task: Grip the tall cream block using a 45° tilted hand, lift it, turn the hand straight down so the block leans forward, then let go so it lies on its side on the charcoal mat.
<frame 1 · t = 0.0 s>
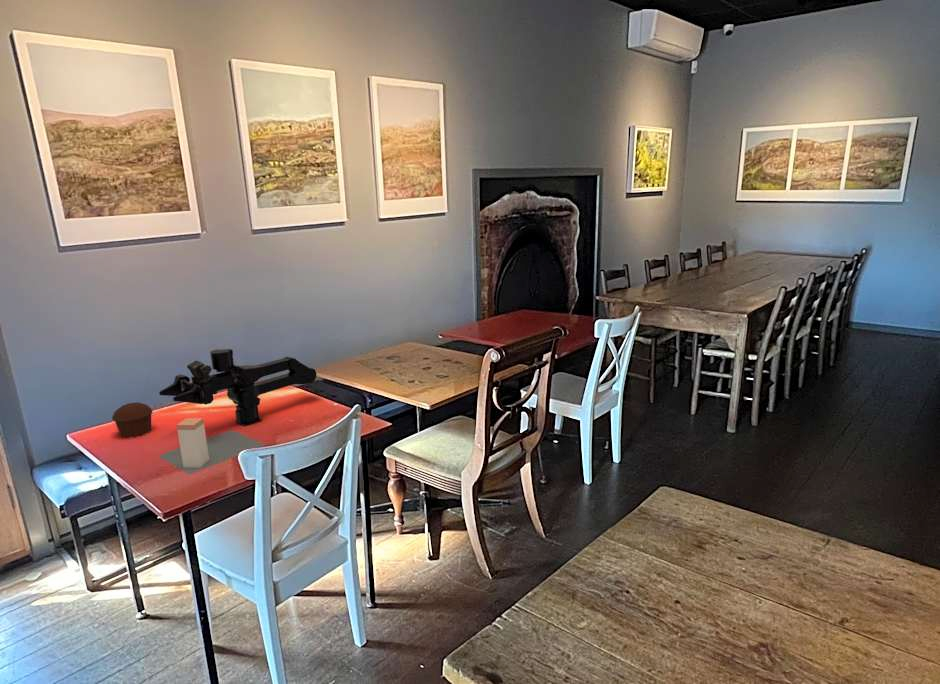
hand: (166, 396, 177), 17 cm above the table, tool horizontal, fingers open, 9 cm apart
charcoal mat: (212, 451, 177), on the table
cream block: (196, 463, 168), resting on charcoal mat
muffin: (135, 433, 193), on the table
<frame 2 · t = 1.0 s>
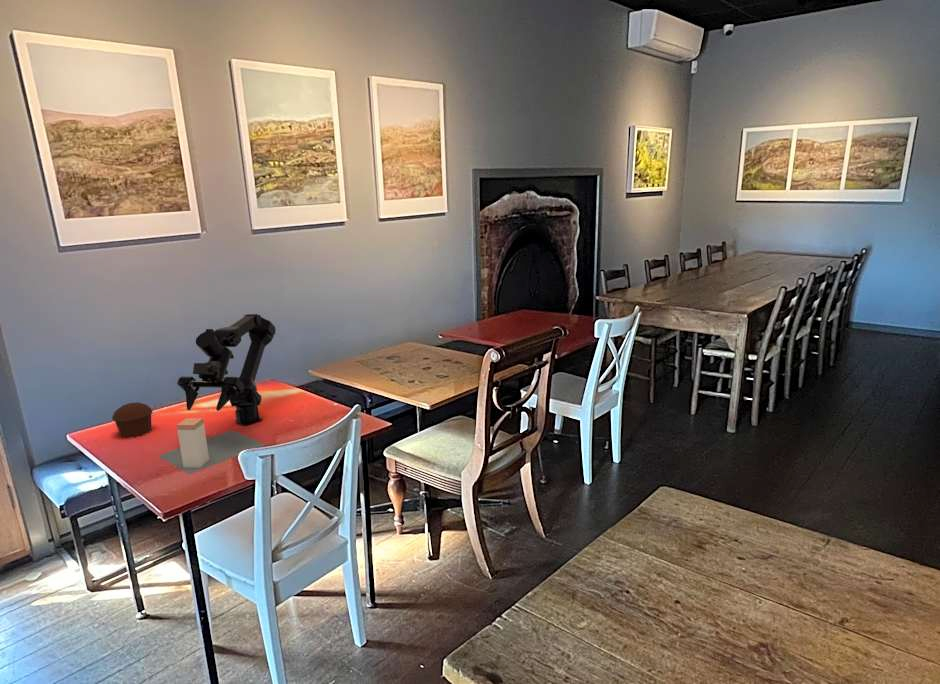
hand: (202, 410, 172), 14 cm above the table, tool tilted 45°, fingers open, 9 cm apart
nothing on the table moved.
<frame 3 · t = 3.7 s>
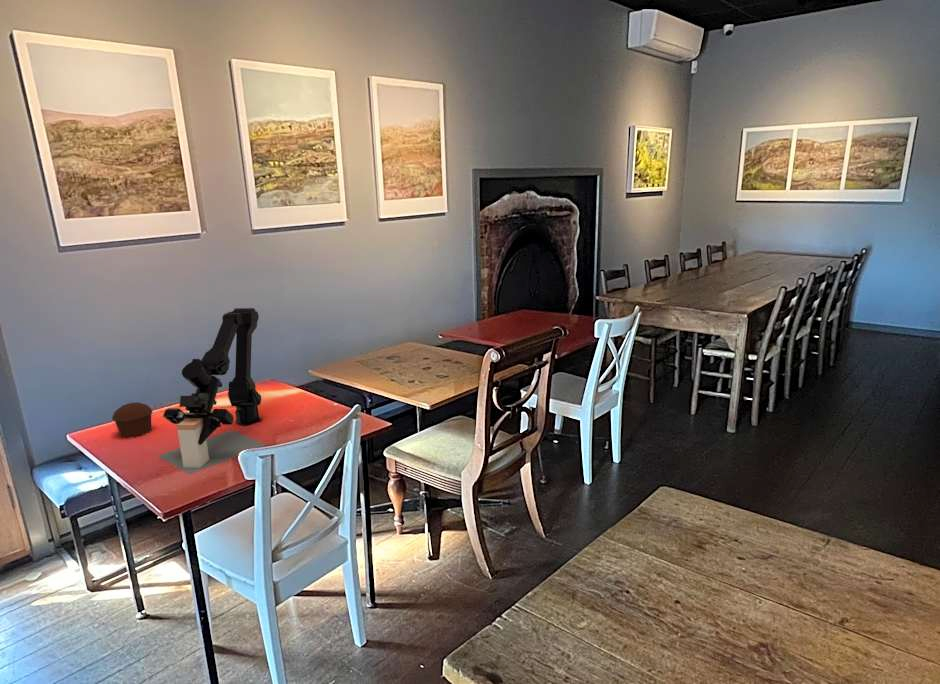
hand: (190, 444, 165), 7 cm above the table, tool tilted 45°, fingers closed on cream block, 5 cm apart
cream block: (196, 463, 168), resting on charcoal mat, touching gripper
everything else where it was.
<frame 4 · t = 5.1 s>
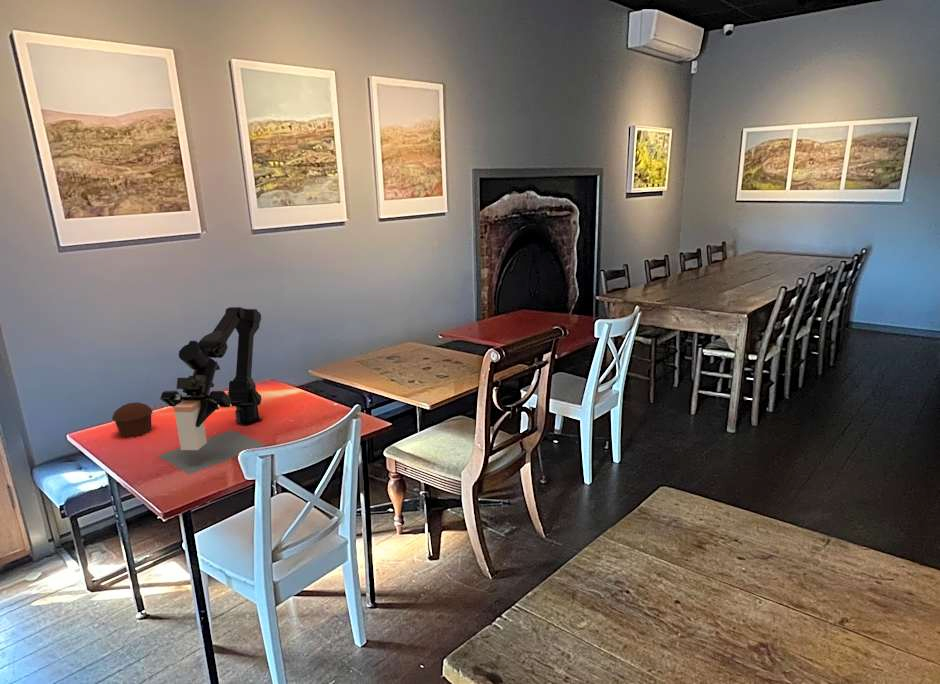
hand: (187, 426, 164), 12 cm above the table, tool tilted 45°, fingers closed on cream block, 5 cm apart
cream block: (194, 446, 167), point 6 cm above the table, touching gripper
everything else where it was.
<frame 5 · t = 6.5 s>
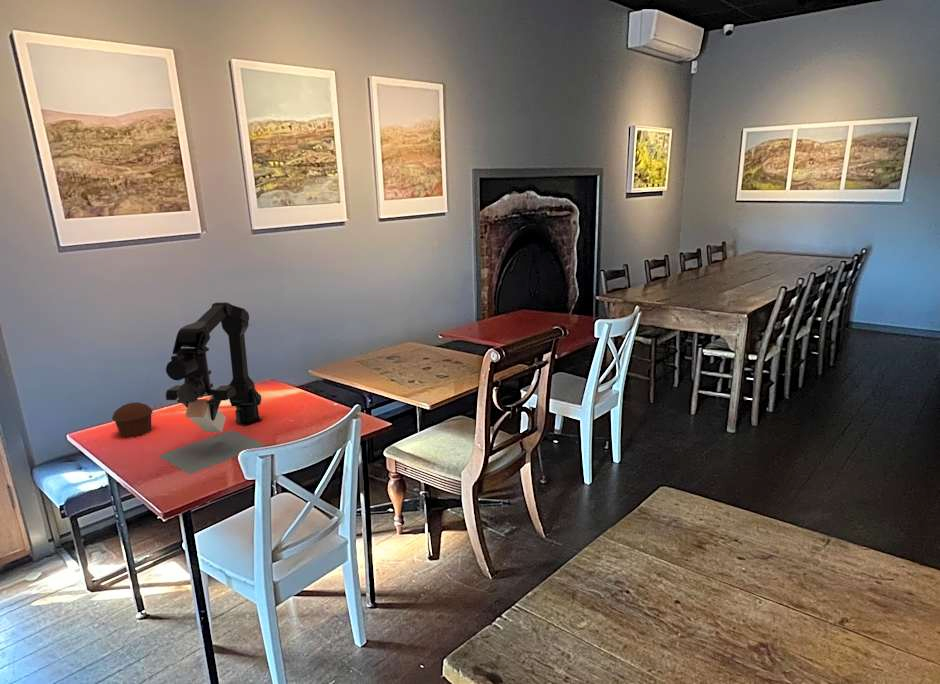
hand: (204, 420, 172), 11 cm above the table, tool pointing down, fingers closed on cream block, 5 cm apart
cream block: (216, 424, 179), point 7 cm above the table, tilted 45°, touching gripper
everything else where it was.
when the fingers open (7 cm above the table, at t = 8.0 s): cream block moves 2 cm and tips over, resting on charcoal mat.
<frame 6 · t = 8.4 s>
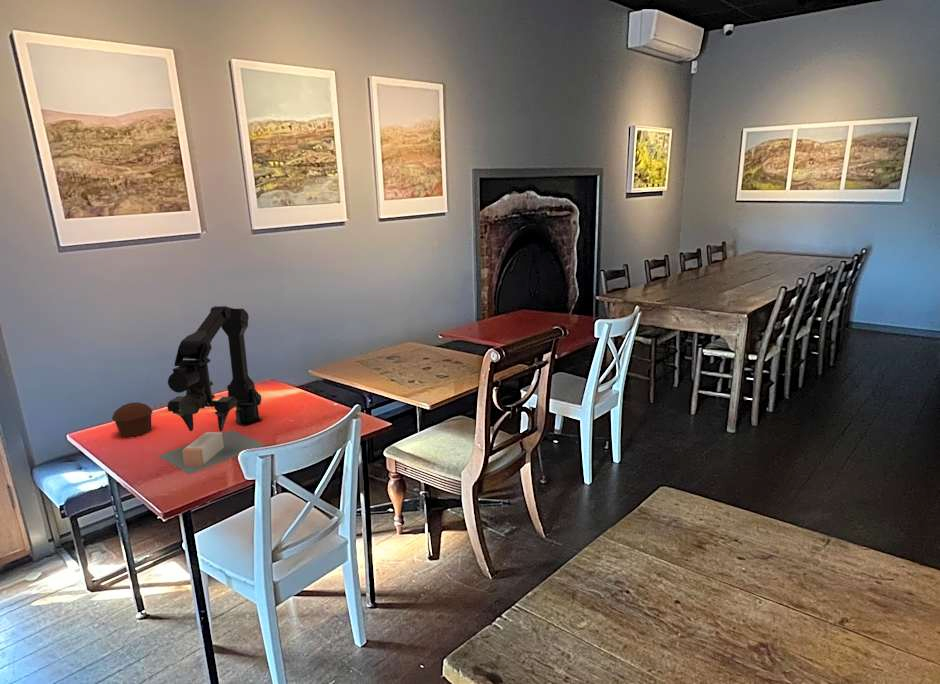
hand: (206, 430, 173), 7 cm above the table, tool pointing down, fingers open, 9 cm apart
cream block: (215, 439, 178), point 3 cm above the table, tilted 90°, touching charcoal mat
everything else where it was.
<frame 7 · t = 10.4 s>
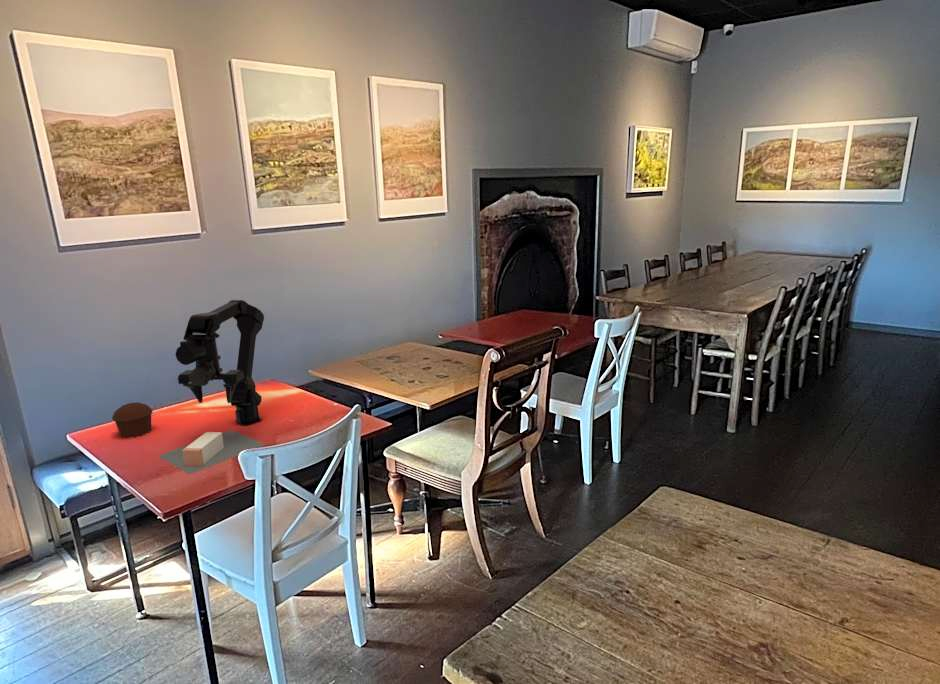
hand: (215, 402, 182), 13 cm above the table, tool pointing down, fingers open, 9 cm apart
nothing on the table moved.
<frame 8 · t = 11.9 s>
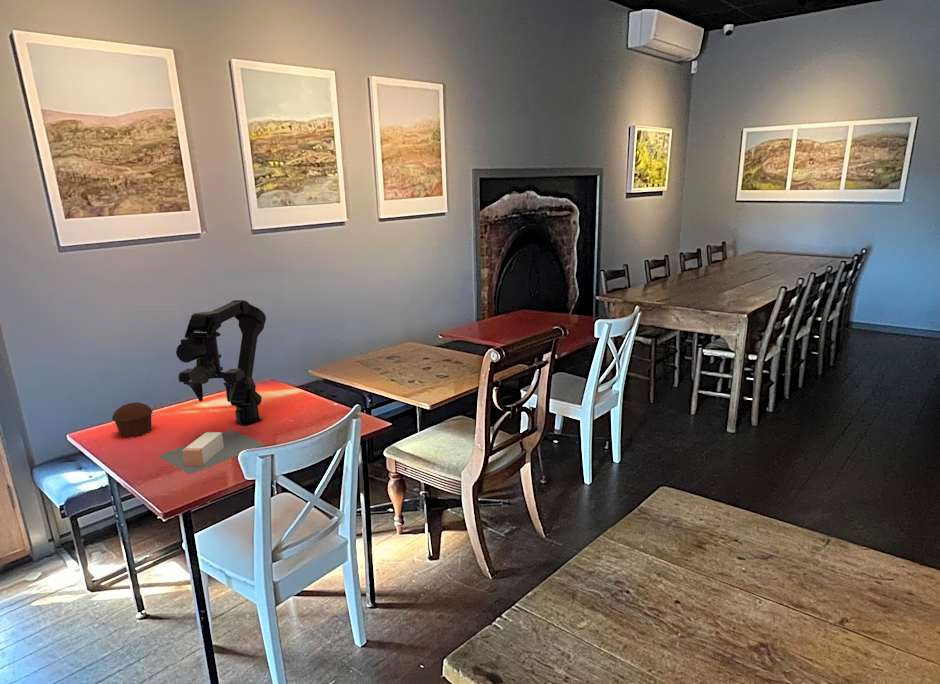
hand: (215, 401, 182), 13 cm above the table, tool pointing down, fingers open, 9 cm apart
nothing on the table moved.
at the end: cream block tilted 90°; cream block inside the target area (2.0 cm from its centre), point 2.9 cm above the table; the gripper is holding nothing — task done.
